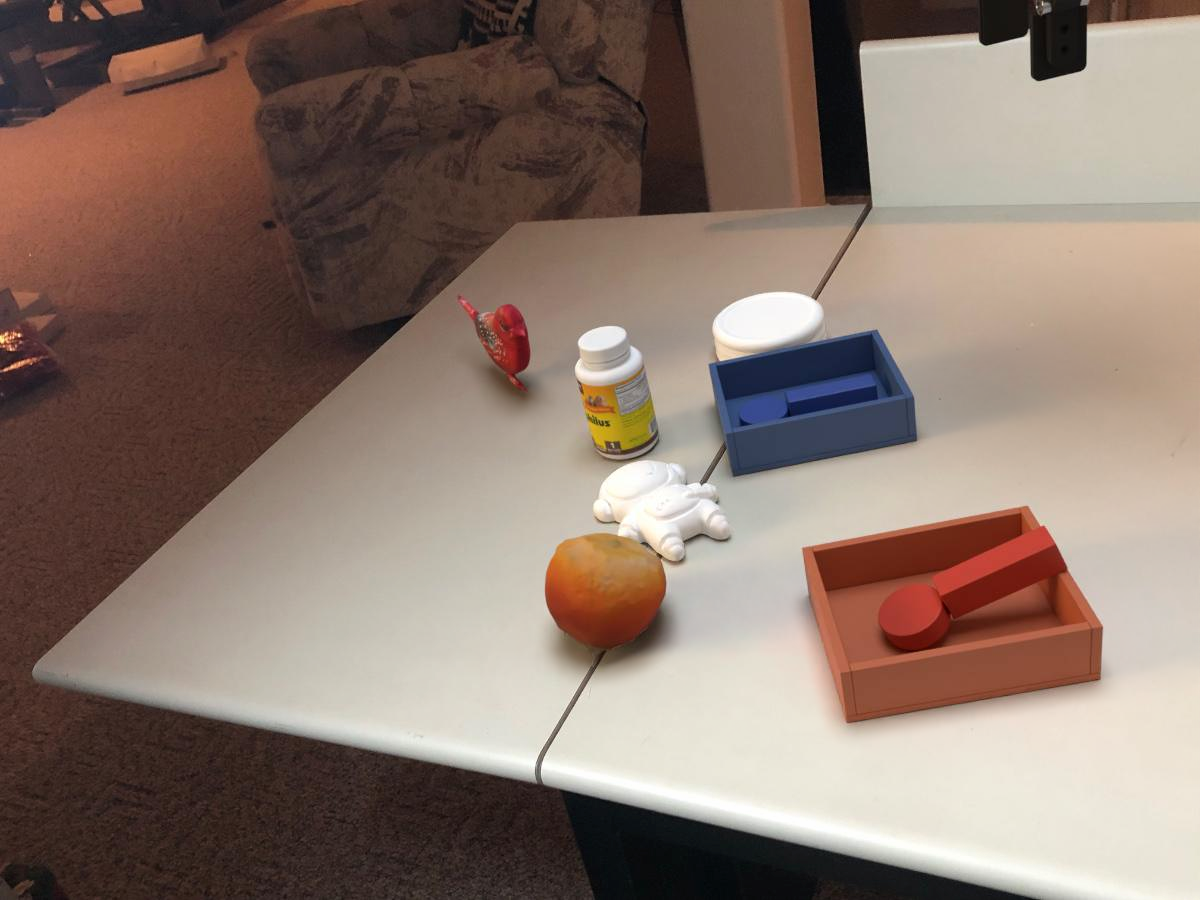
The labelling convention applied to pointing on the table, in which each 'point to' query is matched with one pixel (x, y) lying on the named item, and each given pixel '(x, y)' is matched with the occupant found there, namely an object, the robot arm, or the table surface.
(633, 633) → the fruit
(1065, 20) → the robot arm
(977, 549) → the terracotta tray
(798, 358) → the blue tray
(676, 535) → the astronaut figurine
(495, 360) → the decorative bird figurine
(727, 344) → the white round container
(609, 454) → the supplement bottle
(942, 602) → the red spoon
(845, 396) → the blue spoon
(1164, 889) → the table surface
